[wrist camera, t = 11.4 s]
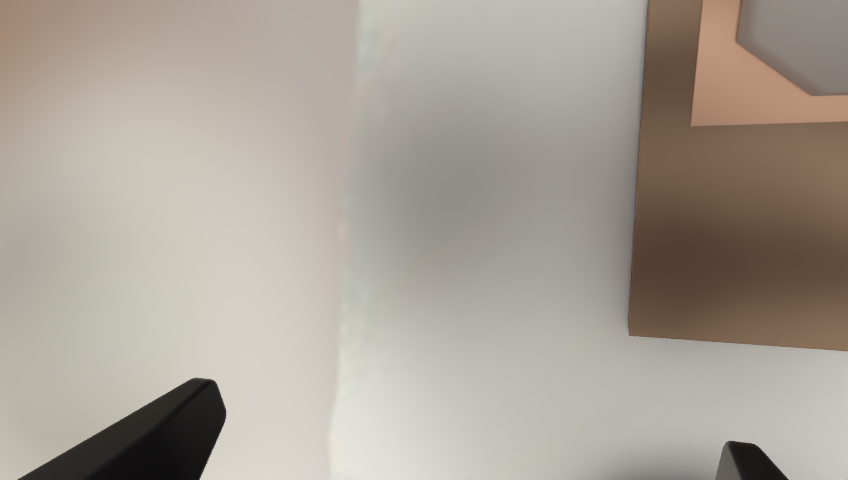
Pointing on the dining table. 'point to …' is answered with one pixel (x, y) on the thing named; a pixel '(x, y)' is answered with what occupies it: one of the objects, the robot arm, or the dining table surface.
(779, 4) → the flask
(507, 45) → the dining table surface
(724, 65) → the walnut board
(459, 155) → the dining table surface
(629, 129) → the dining table surface
